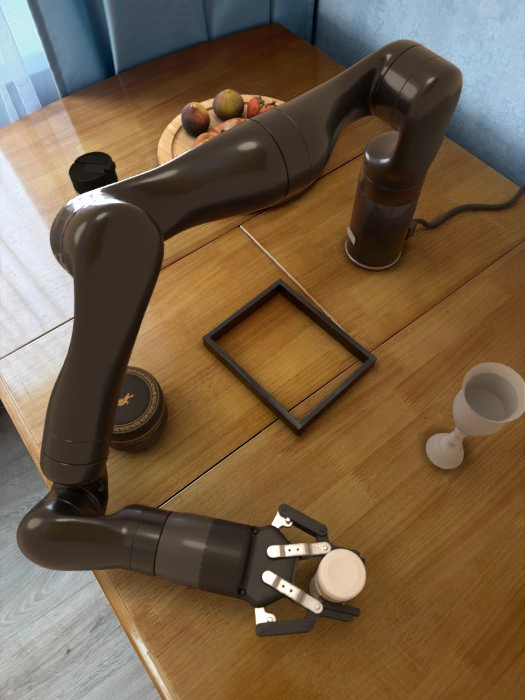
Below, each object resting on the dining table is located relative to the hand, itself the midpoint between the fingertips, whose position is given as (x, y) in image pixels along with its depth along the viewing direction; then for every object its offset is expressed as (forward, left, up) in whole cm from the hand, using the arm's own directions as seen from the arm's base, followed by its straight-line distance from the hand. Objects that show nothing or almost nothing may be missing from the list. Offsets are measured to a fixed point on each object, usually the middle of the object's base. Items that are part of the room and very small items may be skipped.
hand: (360, 587), depth 56 cm
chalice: (-22, -3, -7) cm, 24 cm away
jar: (+6, -35, -7) cm, 36 cm away
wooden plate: (-42, -66, -7) cm, 79 cm away
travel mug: (-10, -60, -7) cm, 62 cm away
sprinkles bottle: (+2, -2, -7) cm, 8 cm away
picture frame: (-17, -28, -7) cm, 34 cm away
